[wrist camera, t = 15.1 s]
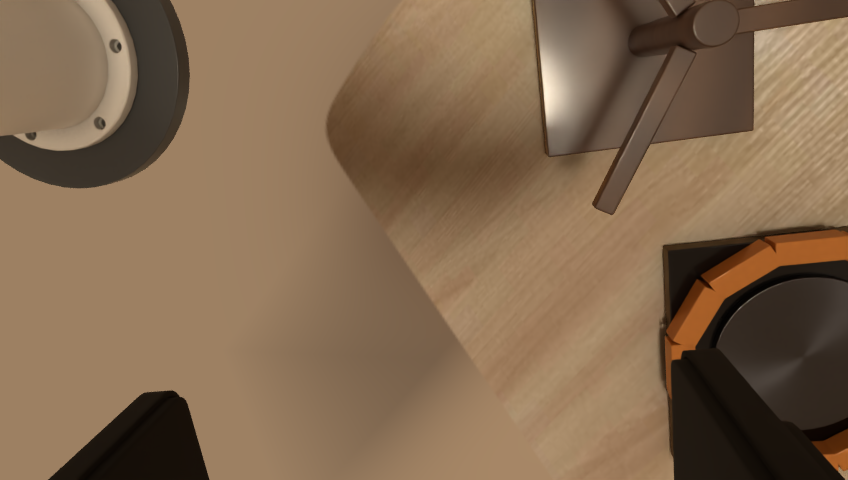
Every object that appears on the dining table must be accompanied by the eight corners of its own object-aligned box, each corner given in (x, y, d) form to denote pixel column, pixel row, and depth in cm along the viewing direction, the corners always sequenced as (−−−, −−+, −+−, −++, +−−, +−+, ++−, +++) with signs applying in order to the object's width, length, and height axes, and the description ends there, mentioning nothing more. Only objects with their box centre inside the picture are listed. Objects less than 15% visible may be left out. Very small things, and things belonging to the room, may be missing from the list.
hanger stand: (548, 182, 37) (575, 231, 25) (524, -81, 33) (543, -172, 21) (791, 152, 35) (948, 190, 23) (798, -134, 31) (992, -269, 19)
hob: (670, 452, 41) (677, 468, 40) (662, 245, 37) (670, 253, 35) (912, 440, 39) (930, 456, 37) (932, 217, 35) (954, 224, 33)
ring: (669, 466, 40) (676, 480, 39) (660, 247, 36) (667, 254, 34) (926, 453, 38) (943, 468, 36) (949, 217, 33) (969, 223, 32)
